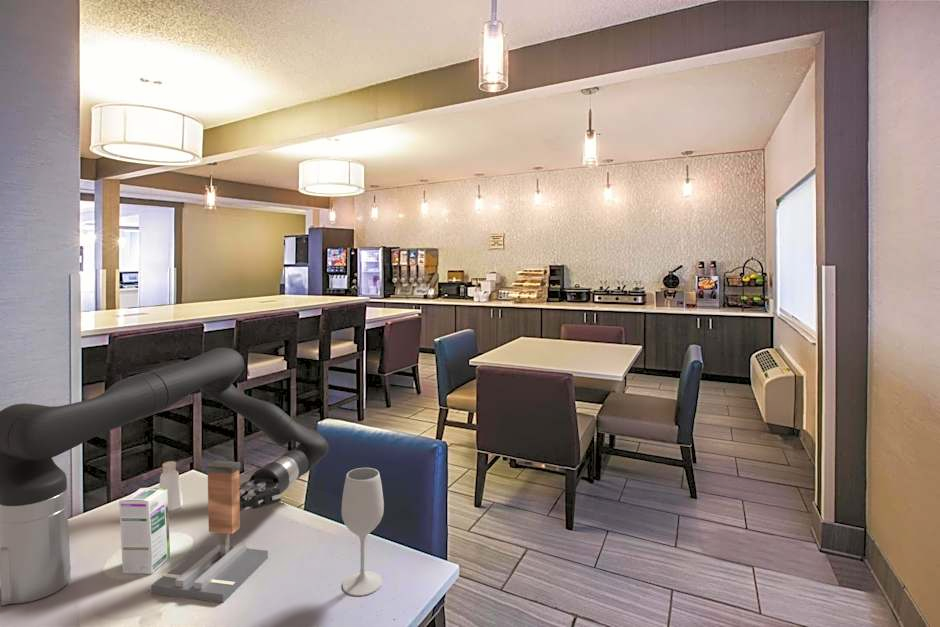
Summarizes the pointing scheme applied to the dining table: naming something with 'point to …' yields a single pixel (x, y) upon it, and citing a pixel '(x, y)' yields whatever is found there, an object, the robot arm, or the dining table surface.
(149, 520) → the syrup box
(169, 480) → the salt shaker
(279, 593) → the dining table surface
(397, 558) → the dining table surface
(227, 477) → the lever
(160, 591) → the grey slotted base
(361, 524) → the wineglass
